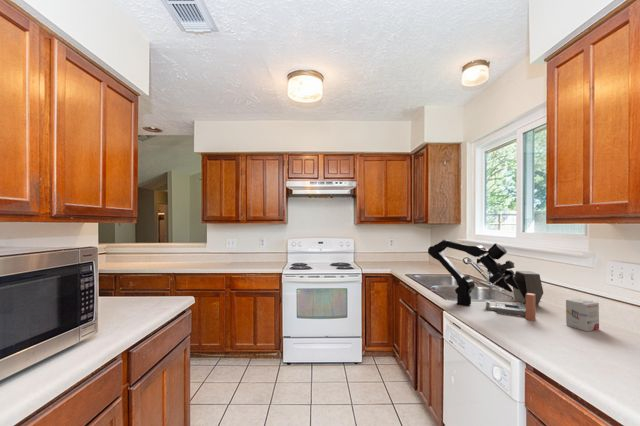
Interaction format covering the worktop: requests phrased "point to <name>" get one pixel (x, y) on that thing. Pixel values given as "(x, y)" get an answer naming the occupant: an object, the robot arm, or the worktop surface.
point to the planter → (527, 286)
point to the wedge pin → (530, 306)
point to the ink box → (582, 314)
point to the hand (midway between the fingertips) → (515, 290)
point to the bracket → (490, 306)
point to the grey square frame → (511, 308)
